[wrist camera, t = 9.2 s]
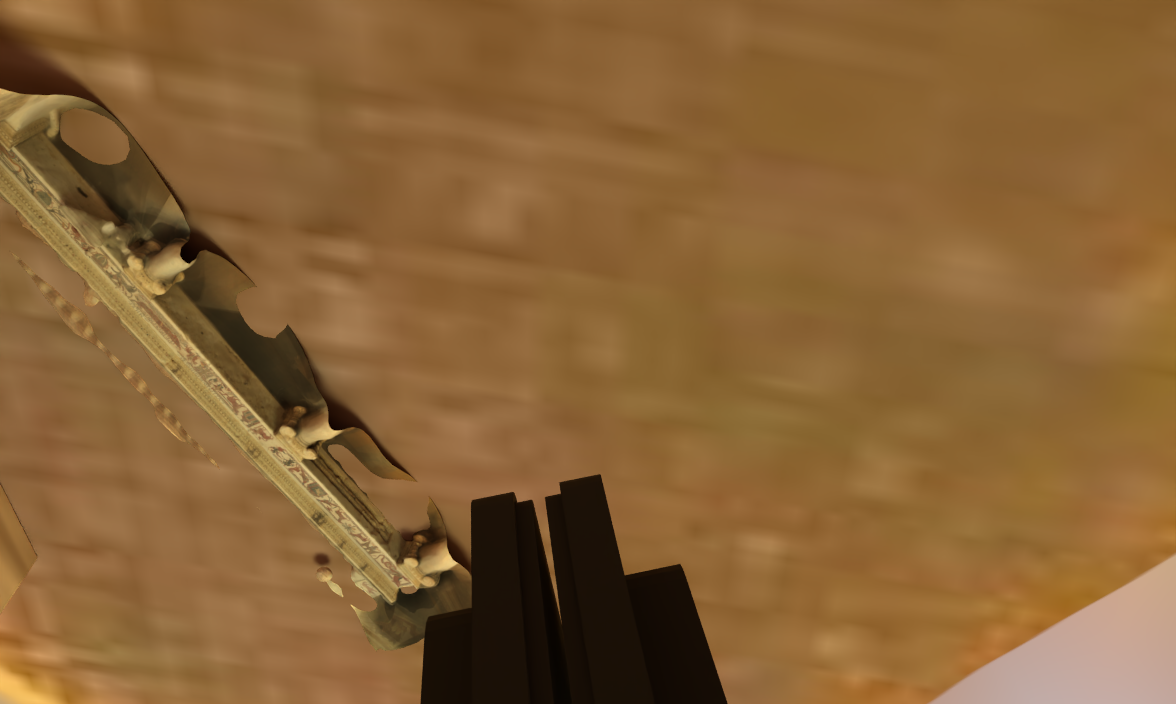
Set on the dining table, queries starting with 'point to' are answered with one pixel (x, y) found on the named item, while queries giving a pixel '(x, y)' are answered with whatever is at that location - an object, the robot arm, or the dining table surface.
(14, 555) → the notched board
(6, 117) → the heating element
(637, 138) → the dining table surface
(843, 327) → the dining table surface
